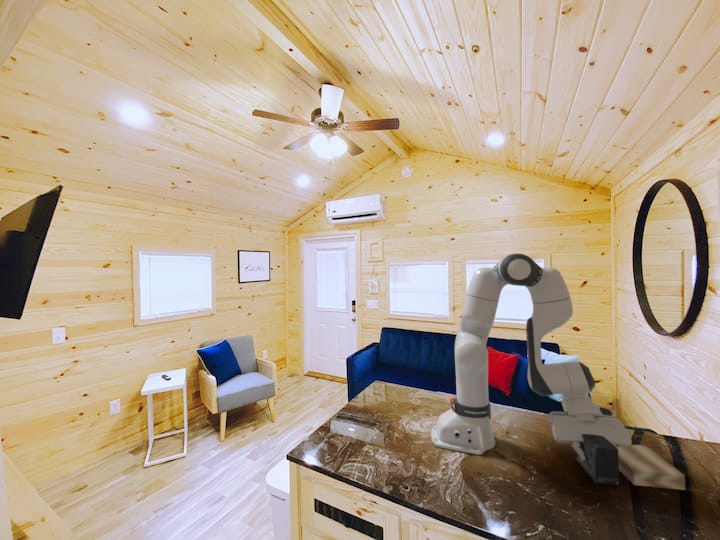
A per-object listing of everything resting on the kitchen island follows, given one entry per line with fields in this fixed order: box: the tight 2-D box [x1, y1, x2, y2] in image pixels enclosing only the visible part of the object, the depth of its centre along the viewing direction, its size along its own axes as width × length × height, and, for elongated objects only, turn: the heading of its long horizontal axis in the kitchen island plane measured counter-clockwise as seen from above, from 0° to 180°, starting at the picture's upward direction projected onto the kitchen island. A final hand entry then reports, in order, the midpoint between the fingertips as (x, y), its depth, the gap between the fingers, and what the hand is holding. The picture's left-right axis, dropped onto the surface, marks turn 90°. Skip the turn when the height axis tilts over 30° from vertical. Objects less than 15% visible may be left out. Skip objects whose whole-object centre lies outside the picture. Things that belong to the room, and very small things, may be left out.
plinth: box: [617, 444, 686, 491], centre depth 88 cm, size 12×14×4 cm
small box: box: [576, 434, 621, 486], centre depth 88 cm, size 11×6×10 cm, turn 169°
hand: (600, 461), depth 86 cm, fingers closed on small box, 6 cm apart
